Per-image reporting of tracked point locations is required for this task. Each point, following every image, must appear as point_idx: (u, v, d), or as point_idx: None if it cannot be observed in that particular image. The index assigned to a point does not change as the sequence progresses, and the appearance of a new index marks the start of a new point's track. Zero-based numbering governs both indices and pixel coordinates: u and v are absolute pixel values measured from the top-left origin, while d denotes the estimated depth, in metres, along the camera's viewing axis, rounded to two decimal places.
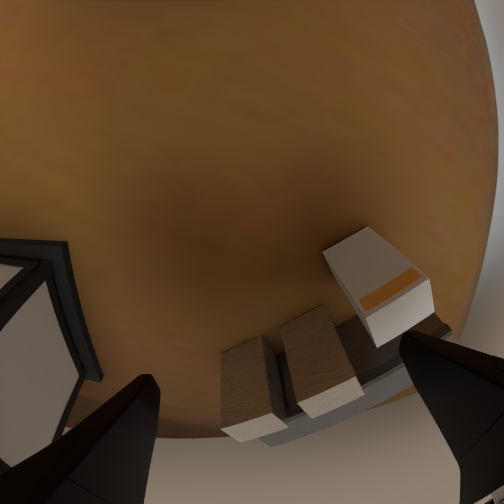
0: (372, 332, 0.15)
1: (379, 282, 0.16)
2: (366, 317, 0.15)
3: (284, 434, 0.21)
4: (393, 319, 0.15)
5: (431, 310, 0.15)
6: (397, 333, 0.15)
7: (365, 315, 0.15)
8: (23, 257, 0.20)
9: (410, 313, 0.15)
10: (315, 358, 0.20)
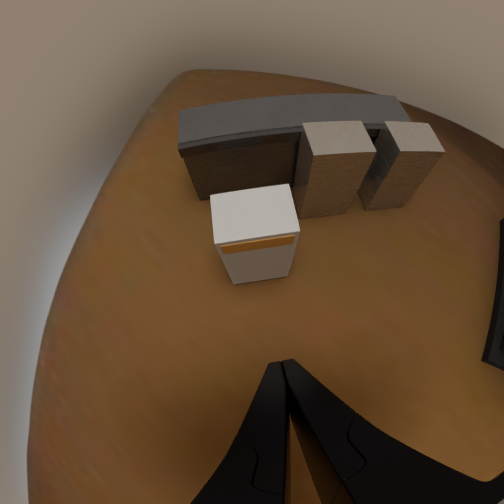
0: (293, 207, 0.15)
1: (263, 250, 0.17)
2: (298, 230, 0.15)
3: (383, 107, 0.20)
4: (266, 212, 0.15)
5: (214, 199, 0.16)
6: (262, 190, 0.16)
7: (298, 232, 0.15)
8: None
9: (243, 209, 0.15)
10: (336, 181, 0.20)
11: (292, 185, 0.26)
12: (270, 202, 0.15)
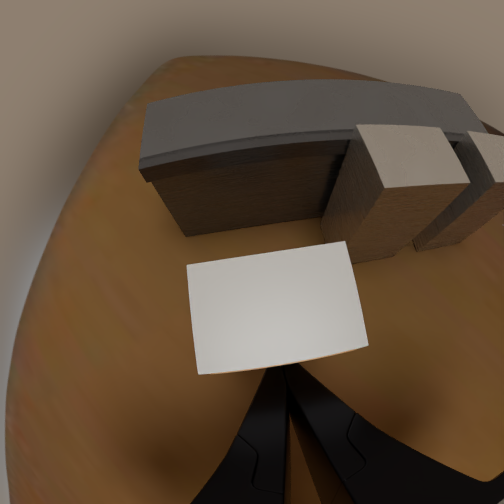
0: (356, 295, 0.07)
1: None
2: (365, 344, 0.07)
3: (452, 109, 0.12)
4: (303, 307, 0.07)
5: (194, 274, 0.08)
6: (293, 256, 0.08)
7: None
8: None
9: (256, 300, 0.07)
10: (400, 223, 0.12)
11: (319, 215, 0.18)
12: (311, 284, 0.07)
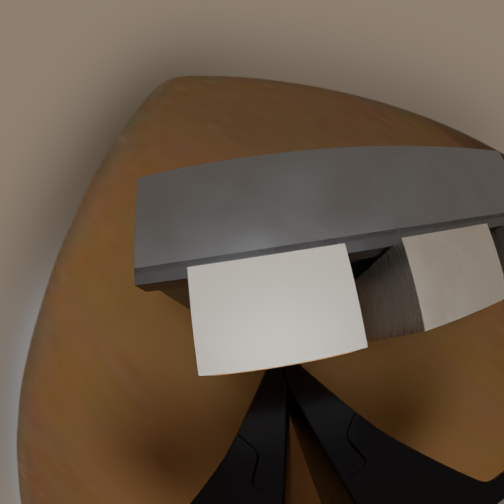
0: (355, 297, 0.07)
1: None
2: (365, 346, 0.07)
3: (493, 177, 0.10)
4: (303, 309, 0.07)
5: (195, 276, 0.08)
6: (293, 258, 0.08)
7: (363, 347, 0.07)
8: None
9: (256, 302, 0.07)
10: None
11: None
12: (310, 286, 0.07)
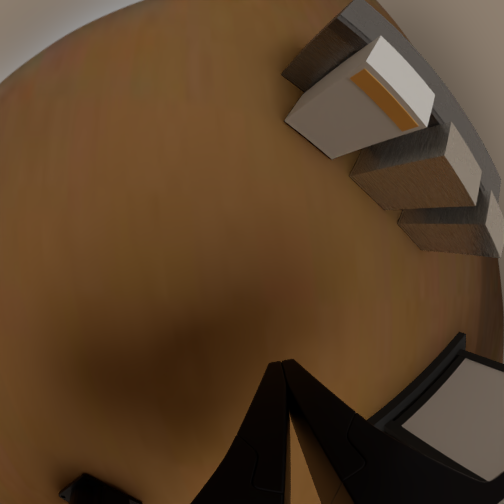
0: (430, 110, 0.11)
1: (375, 111, 0.12)
2: (426, 126, 0.11)
3: (491, 177, 0.16)
4: (413, 89, 0.11)
5: (382, 40, 0.10)
6: (417, 76, 0.11)
7: (423, 127, 0.11)
8: None
9: (399, 69, 0.10)
10: (421, 186, 0.16)
11: None
12: (419, 88, 0.11)
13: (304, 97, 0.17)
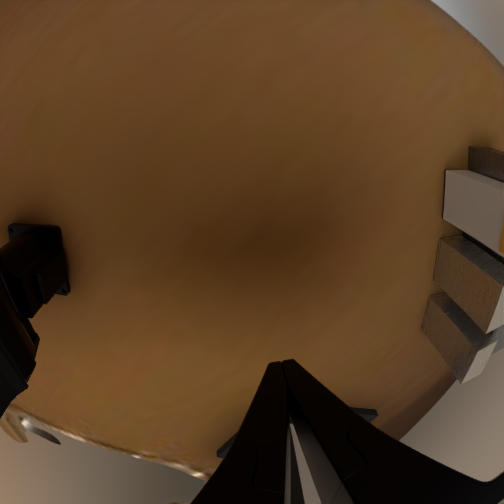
0: None
1: (498, 225, 0.14)
2: None
3: (501, 337, 0.18)
4: None
5: None
6: None
7: None
8: None
9: None
10: (471, 290, 0.18)
11: (464, 235, 0.22)
12: None
13: (468, 173, 0.18)
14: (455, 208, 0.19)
